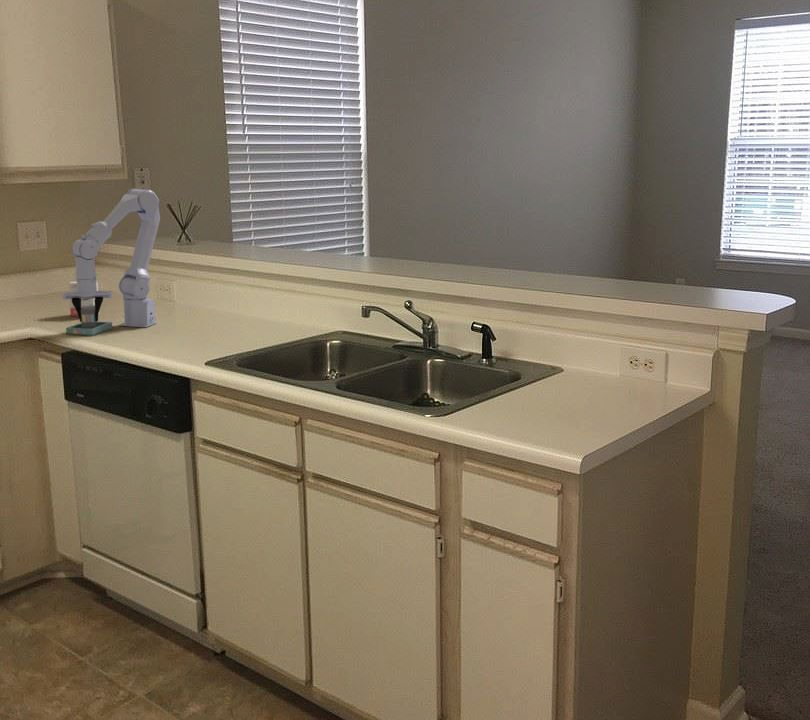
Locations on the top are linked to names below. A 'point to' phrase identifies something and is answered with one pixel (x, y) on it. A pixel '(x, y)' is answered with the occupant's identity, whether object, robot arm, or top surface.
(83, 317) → the block
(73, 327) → the service tray
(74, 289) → the ink cartridge box
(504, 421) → the top surface
